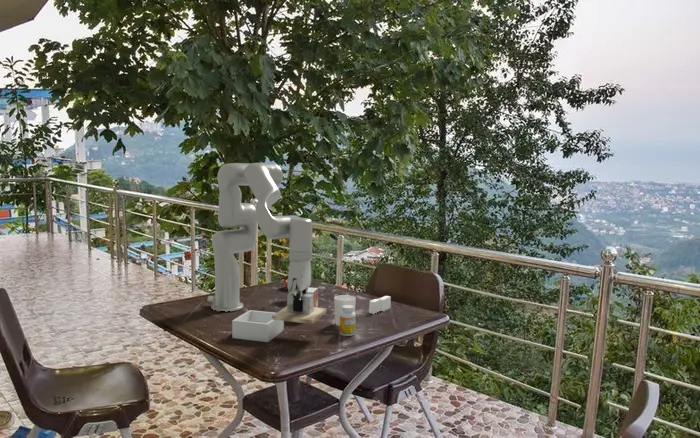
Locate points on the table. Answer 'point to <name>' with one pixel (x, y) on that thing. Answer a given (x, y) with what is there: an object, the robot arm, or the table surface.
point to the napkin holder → (379, 304)
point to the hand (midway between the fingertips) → (300, 309)
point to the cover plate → (299, 316)
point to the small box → (315, 297)
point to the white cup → (340, 302)
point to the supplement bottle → (347, 320)
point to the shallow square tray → (256, 326)
